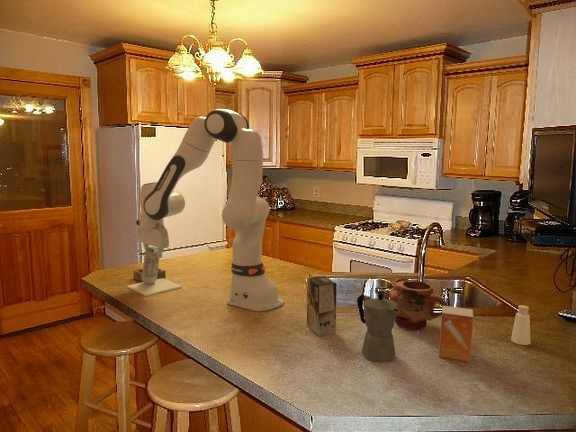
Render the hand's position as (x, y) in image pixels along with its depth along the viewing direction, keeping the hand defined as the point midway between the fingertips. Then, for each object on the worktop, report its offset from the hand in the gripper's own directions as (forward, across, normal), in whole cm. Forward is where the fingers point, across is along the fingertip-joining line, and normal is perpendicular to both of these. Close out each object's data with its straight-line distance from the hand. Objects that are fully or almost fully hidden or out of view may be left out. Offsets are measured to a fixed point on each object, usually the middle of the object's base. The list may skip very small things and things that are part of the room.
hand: (153, 255), depth 179 cm
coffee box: (+14, -76, -17) cm, 79 cm away
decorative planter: (+14, -96, -41) cm, 105 cm away
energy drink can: (+12, +5, 0) cm, 13 cm away
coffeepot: (+14, -98, -15) cm, 100 cm away
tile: (+14, 0, 0) cm, 14 cm away
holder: (+14, +14, -5) cm, 20 cm away
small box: (+14, -114, -30) cm, 119 cm away
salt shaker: (+14, -124, -53) cm, 136 cm away
